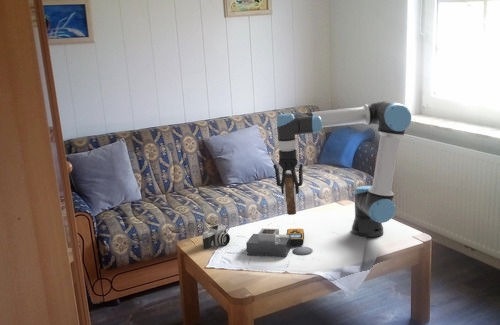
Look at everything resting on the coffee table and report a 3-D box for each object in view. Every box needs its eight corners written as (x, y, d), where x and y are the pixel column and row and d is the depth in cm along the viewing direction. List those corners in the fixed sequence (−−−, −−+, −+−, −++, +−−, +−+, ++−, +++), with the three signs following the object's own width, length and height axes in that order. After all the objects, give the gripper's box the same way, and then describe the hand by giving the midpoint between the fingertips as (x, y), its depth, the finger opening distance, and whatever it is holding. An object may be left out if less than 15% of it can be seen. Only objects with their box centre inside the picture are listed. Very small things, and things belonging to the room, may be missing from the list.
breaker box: (291, 247, 245) (290, 227, 243) (286, 257, 234) (285, 237, 232) (254, 245, 250) (252, 226, 248) (247, 255, 239) (245, 235, 237)
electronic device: (304, 234, 260) (303, 227, 260) (304, 245, 245) (304, 238, 245) (286, 234, 261) (286, 227, 261) (286, 245, 246) (285, 238, 245)
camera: (214, 252, 244) (212, 232, 242) (200, 249, 249) (198, 229, 247) (235, 241, 257) (233, 222, 255) (221, 239, 262) (220, 219, 260)
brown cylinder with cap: (296, 212, 238) (294, 173, 234) (295, 214, 234) (292, 175, 230) (288, 212, 239) (285, 173, 235) (286, 214, 235) (283, 175, 231)
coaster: (314, 247, 242) (314, 247, 242) (311, 255, 234) (311, 254, 234) (294, 247, 245) (294, 246, 245) (291, 254, 236) (291, 253, 236)
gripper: (308, 147, 232) (311, 198, 236) (270, 148, 236) (274, 198, 241) (304, 150, 224) (308, 203, 229) (266, 151, 229) (270, 203, 234)
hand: (290, 200), depth 235 cm, fingers closed on brown cylinder with cap, 4 cm apart
